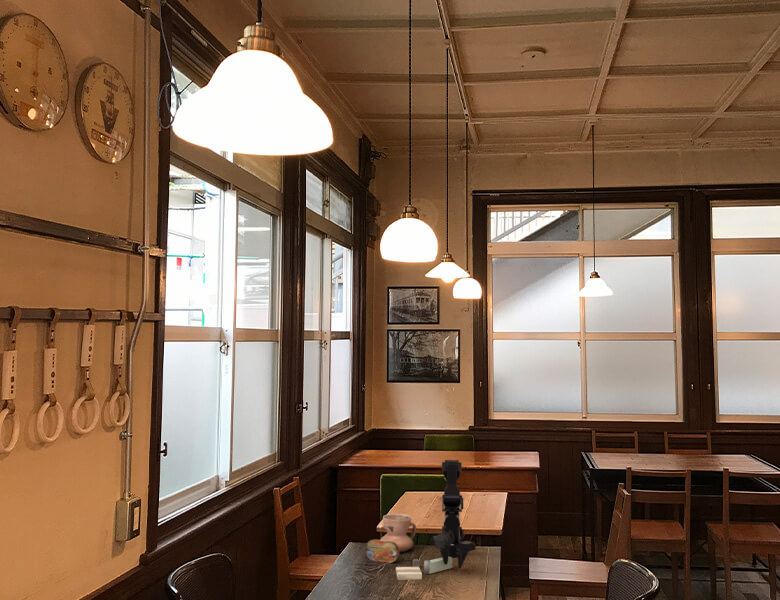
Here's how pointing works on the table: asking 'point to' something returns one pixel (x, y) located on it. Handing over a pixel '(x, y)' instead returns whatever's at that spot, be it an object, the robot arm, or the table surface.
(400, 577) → the stool seat
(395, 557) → the tin
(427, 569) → the stool leg
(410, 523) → the ceramic jug
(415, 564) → the leg stop
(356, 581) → the table surface
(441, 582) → the table surface
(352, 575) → the table surface
